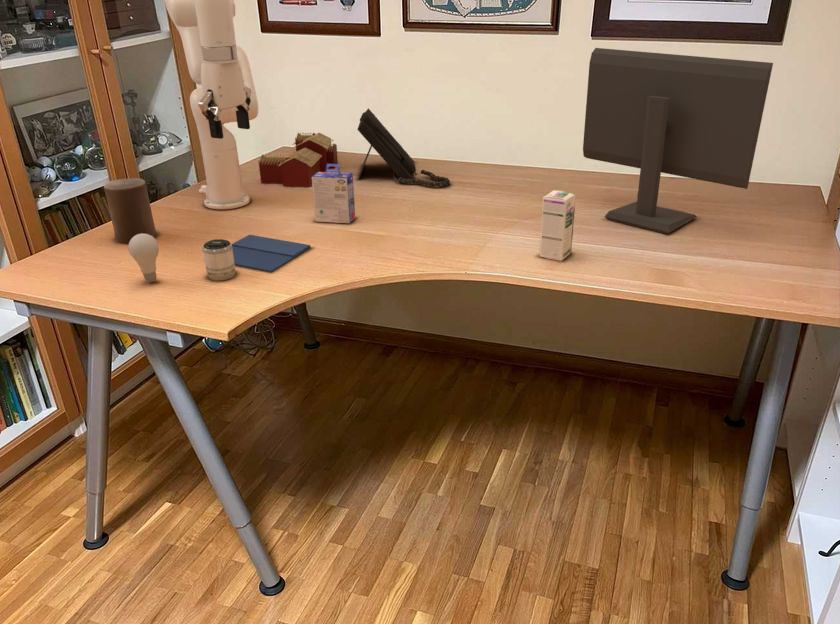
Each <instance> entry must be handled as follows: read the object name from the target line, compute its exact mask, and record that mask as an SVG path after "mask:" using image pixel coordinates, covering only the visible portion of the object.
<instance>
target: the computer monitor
mask: <svg viewBox="0 0 840 624" xmlns="http://www.w3.org/2000/svg"><path fill="white" fill-rule="evenodd" d="M773 67H774V62H766V61H758V60H757V61H755V60H746V59H745V60H743V59H733V58H719V57H708V56H696V55H685V54H675V53H662V52H652V51H651V52H649V51H639V50H638V51H637V50H626V49H615V48H603V47H602V48H601V47H595V48H594V49H593V50H592V52H591V55H590V58H589V65H588V77H587V91H586V104H585V117H584V127H583V129H584V130H583V142H582V154H583V155H582V156H583V157H584V158H585V159H589V160H594V161H599V162H604V163H610V164H616V165H620V166H626V167H629V168H635V169H640V171H639V178H638V179H639V180H638V187H637V188H638V189H637V199H636V201H634V202H631V203H628V204H624V205H623V206H620V207H616V208H614V209H611V210H609V211H608V212H607V213H606V214H605V215H604V217H605V218H606V219H607V220H609V221H613V222H616V223H621V224H625V225H629V226H633V227H637V228H642V229H645V230H649V231H653V232H657V233H662V234H665V235H668V234H670V233H671V232H673V231H675V230H677V229H679V228H680V227H683V226H684V225H686V224H687V223H689V222H691V221H692V220H694V219H696V218H698V216H697V215H696V214H695V213H694V214H693V213H690V212H685V211H681V210H677V209H673V208H668V207H663V206H659V205H658V198H659V191H660V182H661V174H662V173H663V174H668V175H672V176H677V177H683V178H688V179H692V180H698V181H702V182H703V181H704V182H709V183H713V184H719V185H724V186H730V187H734V188H739V189H744V190H748V187H749V183H750V178H751V173H752V169H753V163H754V159H755V153H756V149H757V144H758V139H759V134H760V131H761V124H762V120H763V114H764V110H765V105H766V101H767V95H768V91H769V84H770V80H771V76H772V71H773Z"/></svg>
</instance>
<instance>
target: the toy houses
mask: <svg viewBox="0 0 840 624" xmlns="http://www.w3.org/2000/svg"><path fill="white" fill-rule="evenodd" d="M294 140H295V141H294V142H293V143H292V145H293V151H295V152H293V153H291V154H289V155H287V154H285V155H284V154H282V155H281V154H262V153H261V156H260V159H258V167H259V168H258V169H257V170H256V171H255V173H259V177H260V183H261V184H279V185H280V184H281V185H282V187H299V188H300V187H301V188H311V187H312V176H314V175H315V174H316V173H317V172H326V167H327V164H339V159H338V148H337V147H338V146H337V144H336V143H332V142H334V139H332V138H331V137H330V136H327V135H325V134H323V133H321V132H317V133H315V132H297V134H296V136H295V138H294ZM328 169H331V170H336V167H334V166H333V167H329V168H328Z"/></svg>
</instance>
